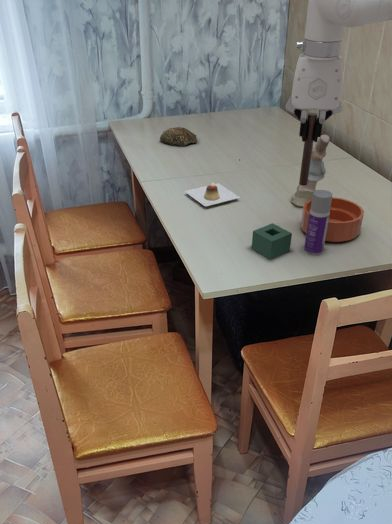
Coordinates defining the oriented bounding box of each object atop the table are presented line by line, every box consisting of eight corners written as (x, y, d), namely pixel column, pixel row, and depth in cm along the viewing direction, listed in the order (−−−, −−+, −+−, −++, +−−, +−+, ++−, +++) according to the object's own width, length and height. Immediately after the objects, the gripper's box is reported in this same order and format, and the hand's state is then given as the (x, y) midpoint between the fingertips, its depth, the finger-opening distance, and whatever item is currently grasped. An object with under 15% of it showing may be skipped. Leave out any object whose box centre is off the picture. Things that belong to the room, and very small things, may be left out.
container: (302, 253, 135) (311, 196, 125) (305, 244, 138) (314, 188, 129) (321, 256, 134) (331, 199, 124) (324, 247, 137) (334, 191, 128)
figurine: (319, 210, 154) (331, 138, 141) (289, 207, 156) (298, 135, 143) (321, 197, 161) (332, 127, 148) (292, 194, 162) (301, 125, 149)
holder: (289, 251, 136) (292, 233, 133) (270, 259, 133) (272, 241, 129) (270, 240, 140) (272, 223, 137) (251, 248, 137) (252, 230, 134)
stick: (309, 184, 130) (319, 114, 119) (303, 186, 129) (313, 116, 118) (302, 181, 131) (312, 112, 121) (297, 183, 130) (306, 114, 120)
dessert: (204, 210, 154) (205, 193, 151) (183, 194, 162) (183, 179, 158) (239, 201, 158) (240, 185, 155) (217, 186, 166) (218, 171, 163)
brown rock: (155, 141, 197) (154, 127, 194) (178, 132, 204) (177, 119, 201) (181, 149, 191) (181, 135, 188) (204, 140, 198) (204, 126, 195)
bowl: (371, 232, 144) (376, 211, 140) (332, 250, 136) (336, 228, 132) (326, 212, 153) (330, 192, 149) (288, 227, 146) (291, 206, 142)
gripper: (283, 51, 109) (274, 144, 121) (363, 53, 108) (346, 147, 120) (282, 44, 115) (273, 133, 127) (358, 46, 114) (342, 135, 125)
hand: (309, 139), depth 123 cm, fingers closed on stick, 2 cm apart
